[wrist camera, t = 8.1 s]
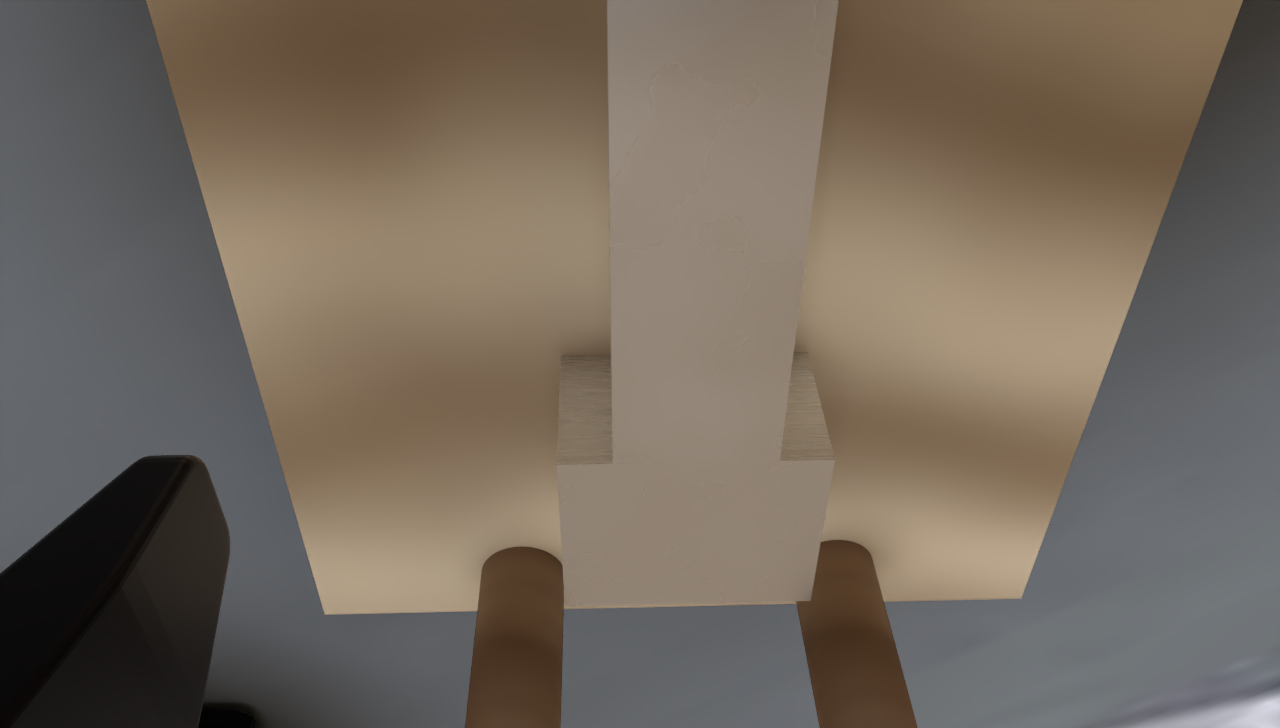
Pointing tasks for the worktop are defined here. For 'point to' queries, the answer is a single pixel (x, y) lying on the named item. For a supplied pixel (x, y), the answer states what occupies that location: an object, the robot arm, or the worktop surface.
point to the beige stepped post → (702, 315)
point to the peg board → (580, 289)
